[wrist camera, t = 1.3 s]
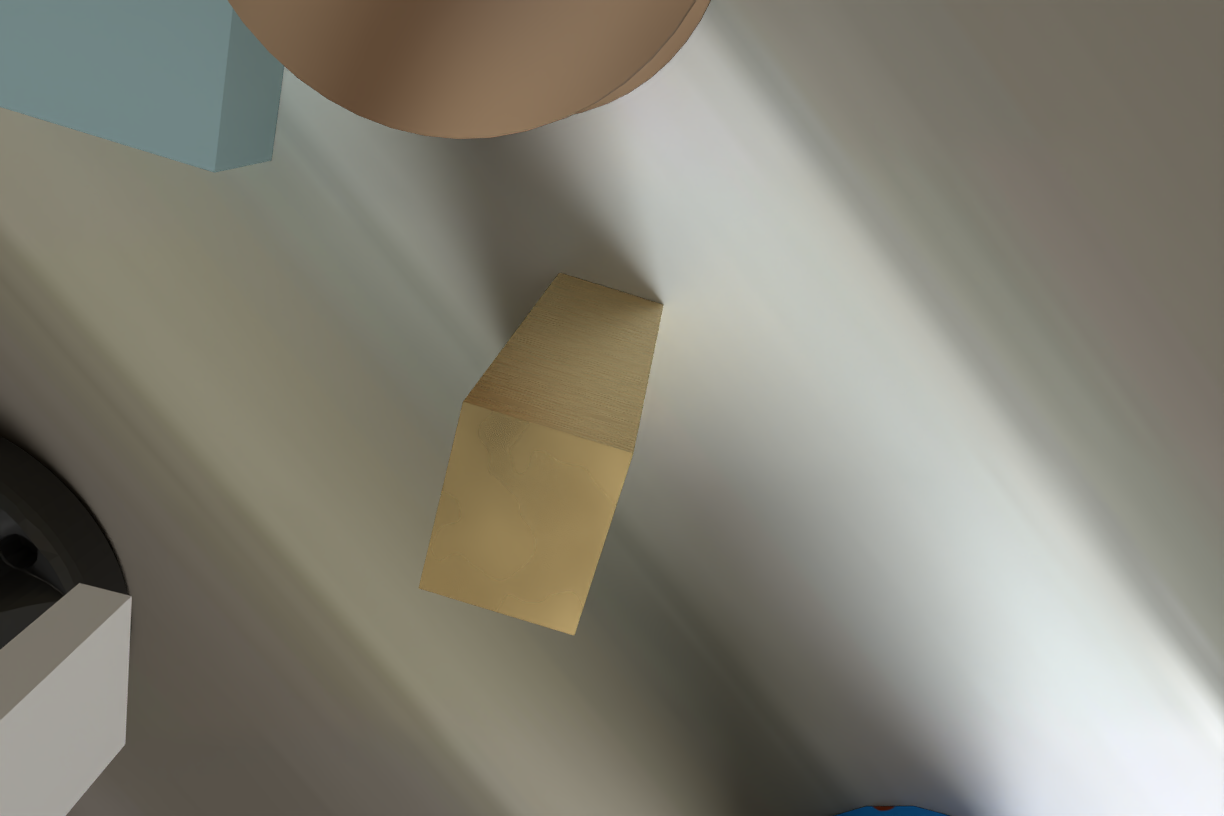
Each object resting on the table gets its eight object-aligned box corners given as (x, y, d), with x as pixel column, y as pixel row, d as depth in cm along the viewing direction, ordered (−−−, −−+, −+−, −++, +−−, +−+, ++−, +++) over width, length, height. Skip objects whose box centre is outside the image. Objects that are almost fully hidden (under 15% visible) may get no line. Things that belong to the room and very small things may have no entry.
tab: (624, 427, 30) (574, 635, 19) (526, 397, 30) (418, 587, 19) (663, 304, 29) (633, 453, 18) (559, 272, 29) (463, 401, 18)
